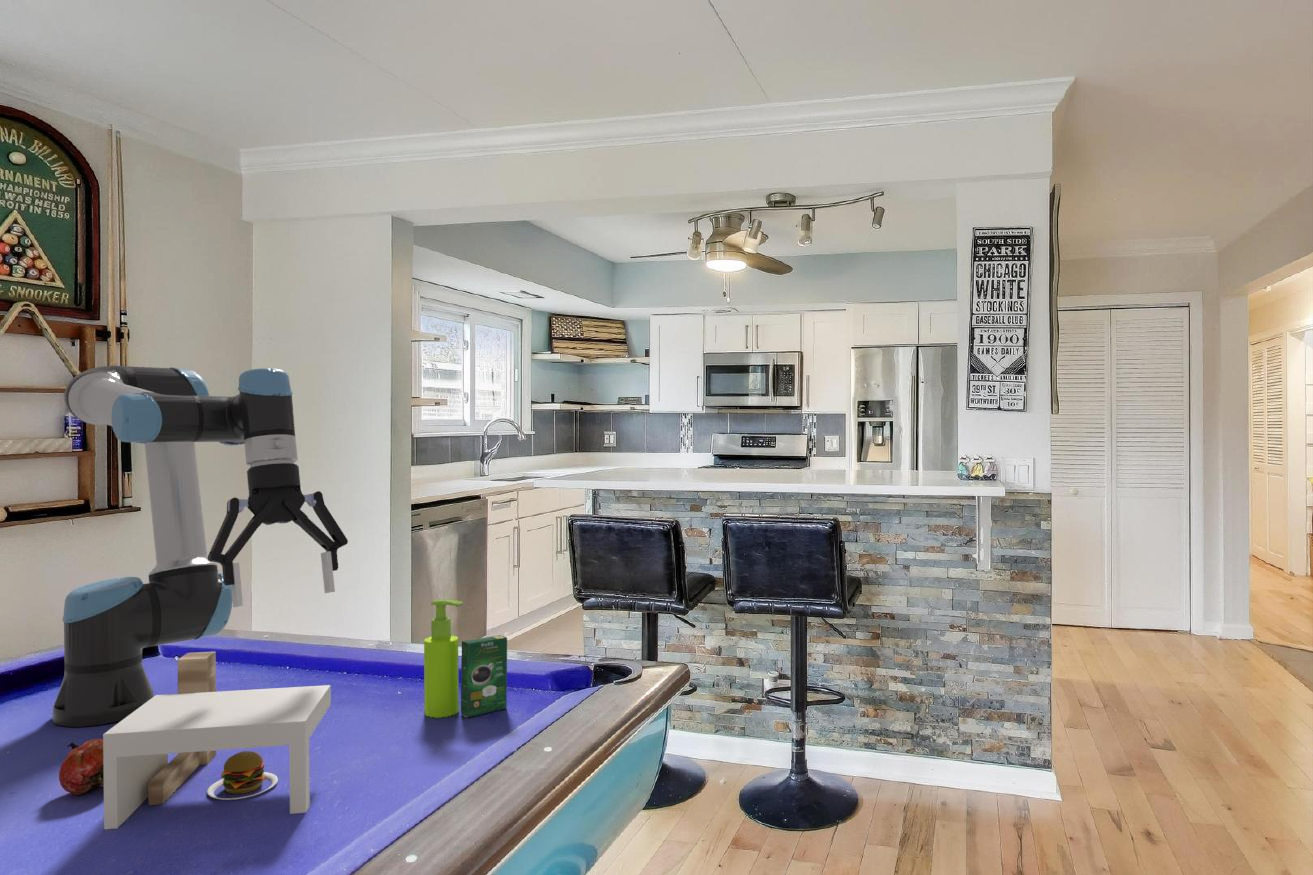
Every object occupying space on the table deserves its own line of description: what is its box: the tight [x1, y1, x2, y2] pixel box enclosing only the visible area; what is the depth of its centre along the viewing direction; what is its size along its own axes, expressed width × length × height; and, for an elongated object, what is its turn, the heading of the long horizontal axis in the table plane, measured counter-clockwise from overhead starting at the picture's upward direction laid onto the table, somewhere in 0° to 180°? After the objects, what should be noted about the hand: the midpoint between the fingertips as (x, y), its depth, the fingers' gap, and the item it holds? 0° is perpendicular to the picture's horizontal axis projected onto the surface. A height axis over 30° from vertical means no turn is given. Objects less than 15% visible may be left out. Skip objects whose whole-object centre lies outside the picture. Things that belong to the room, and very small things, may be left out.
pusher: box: [147, 651, 217, 806], centre depth 120 cm, size 18×4×16 cm, turn 10°
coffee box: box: [460, 635, 508, 718], centre depth 148 cm, size 8×3×13 cm, turn 129°
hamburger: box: [206, 750, 279, 801], centre depth 117 cm, size 12×12×6 cm
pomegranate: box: [58, 738, 104, 796], centre depth 116 cm, size 7×7×10 cm
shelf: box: [102, 684, 332, 830], centre depth 115 cm, size 16×24×12 cm, turn 100°
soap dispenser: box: [423, 598, 464, 719], centre depth 148 cm, size 6×7×20 cm
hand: (285, 599), depth 130 cm, fingers open, 13 cm apart
